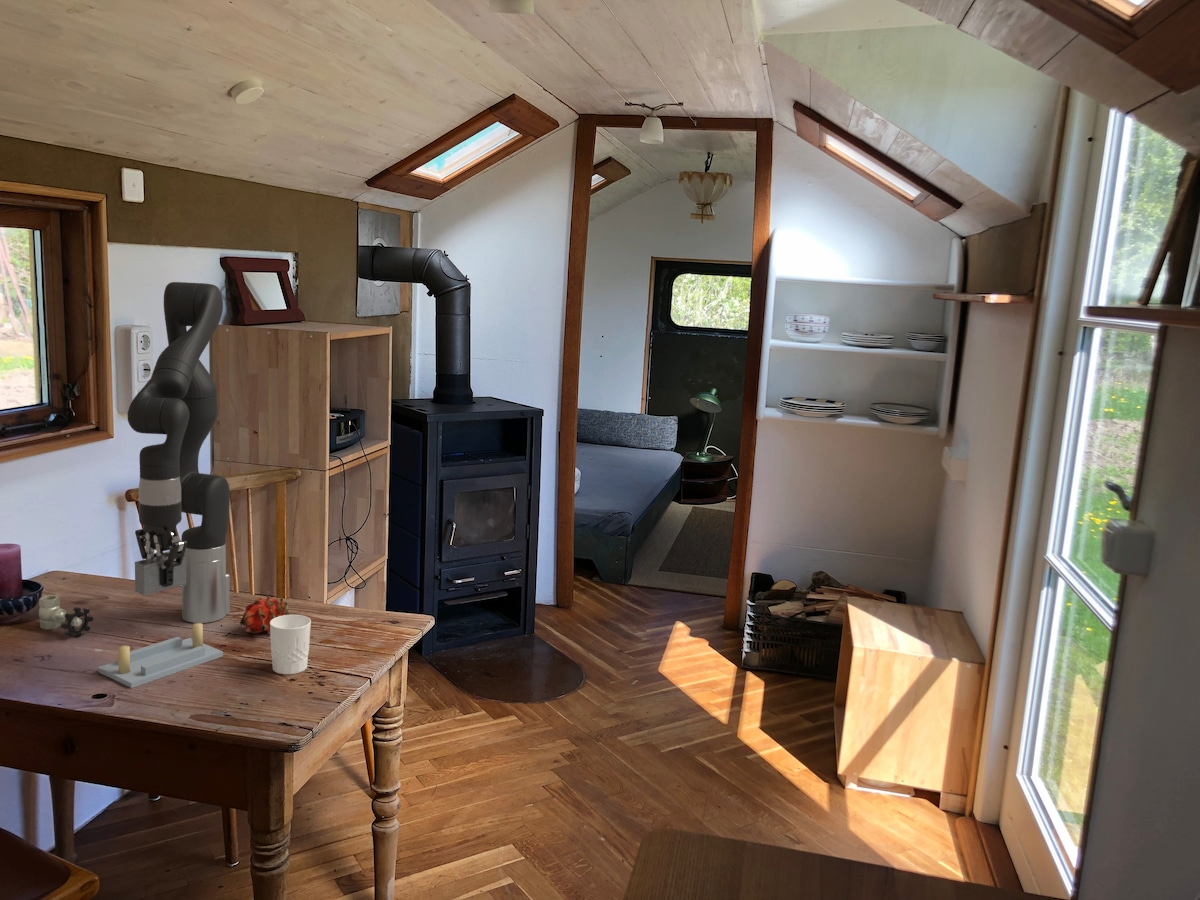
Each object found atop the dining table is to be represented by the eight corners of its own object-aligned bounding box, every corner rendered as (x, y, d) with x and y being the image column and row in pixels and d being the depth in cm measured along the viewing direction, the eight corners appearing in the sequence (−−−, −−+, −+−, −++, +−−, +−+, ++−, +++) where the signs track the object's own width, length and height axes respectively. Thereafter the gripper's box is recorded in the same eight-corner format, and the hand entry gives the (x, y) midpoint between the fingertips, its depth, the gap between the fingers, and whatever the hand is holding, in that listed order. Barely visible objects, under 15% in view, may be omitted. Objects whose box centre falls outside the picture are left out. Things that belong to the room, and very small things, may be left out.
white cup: (268, 662, 193) (268, 616, 191) (307, 658, 196) (308, 613, 194) (270, 678, 186) (271, 630, 184) (312, 673, 189) (313, 627, 187)
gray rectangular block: (177, 580, 190) (176, 552, 189) (186, 584, 189) (186, 555, 187) (135, 591, 182) (134, 561, 181) (144, 595, 181) (144, 565, 180)
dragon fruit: (293, 631, 213) (245, 652, 205) (273, 603, 216) (225, 622, 207) (302, 610, 208) (253, 631, 199) (282, 581, 211) (233, 600, 202)
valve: (29, 629, 201) (64, 642, 195) (28, 599, 199) (63, 612, 194) (59, 620, 206) (94, 633, 201) (58, 591, 205) (93, 603, 200)
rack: (189, 642, 200) (189, 615, 199) (223, 656, 194) (222, 628, 193) (98, 672, 183) (97, 643, 182) (131, 688, 177) (131, 658, 176)
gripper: (200, 502, 182) (200, 587, 185) (156, 489, 189) (157, 571, 192) (164, 509, 176) (165, 596, 179) (120, 495, 183) (122, 580, 186)
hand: (161, 583), depth 185 cm, fingers closed on gray rectangular block, 3 cm apart
